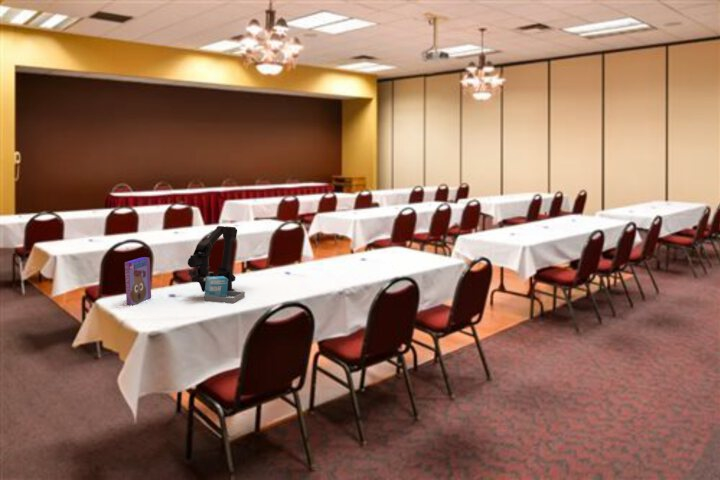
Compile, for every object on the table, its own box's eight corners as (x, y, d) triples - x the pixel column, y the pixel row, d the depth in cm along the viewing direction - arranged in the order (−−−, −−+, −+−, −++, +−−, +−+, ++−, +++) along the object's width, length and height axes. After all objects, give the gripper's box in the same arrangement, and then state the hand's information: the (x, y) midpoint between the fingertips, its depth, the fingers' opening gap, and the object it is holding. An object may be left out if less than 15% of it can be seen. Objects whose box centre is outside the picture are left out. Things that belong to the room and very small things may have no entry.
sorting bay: (217, 295, 361) (217, 290, 361) (244, 297, 357) (244, 292, 356) (204, 301, 346) (204, 296, 346) (233, 303, 342) (233, 298, 342)
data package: (207, 299, 347) (209, 278, 345) (204, 296, 351) (206, 276, 349) (226, 297, 355) (228, 277, 353) (223, 295, 358) (224, 275, 356)
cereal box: (134, 305, 336) (132, 262, 332) (126, 304, 337) (124, 262, 333) (151, 297, 353) (149, 257, 349) (143, 297, 354) (142, 256, 350)
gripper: (199, 261, 363) (199, 287, 365) (182, 266, 345) (182, 293, 347) (216, 263, 360) (216, 288, 362) (200, 268, 342) (200, 295, 344)
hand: (203, 291), depth 354 cm, fingers closed
